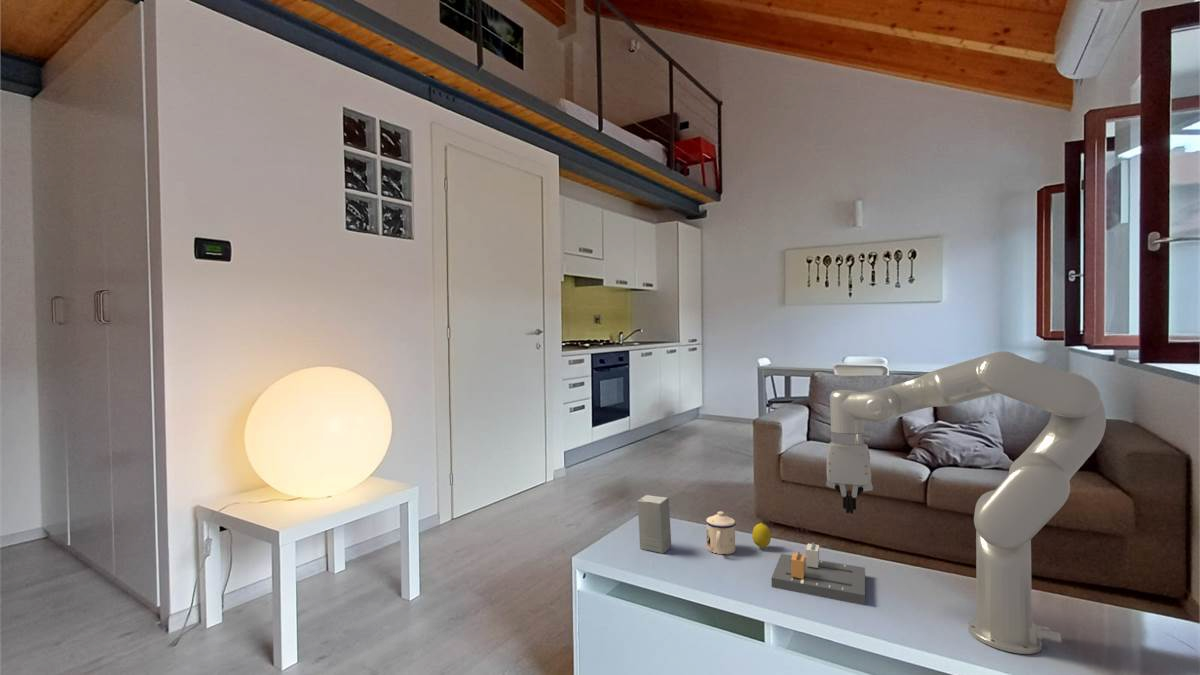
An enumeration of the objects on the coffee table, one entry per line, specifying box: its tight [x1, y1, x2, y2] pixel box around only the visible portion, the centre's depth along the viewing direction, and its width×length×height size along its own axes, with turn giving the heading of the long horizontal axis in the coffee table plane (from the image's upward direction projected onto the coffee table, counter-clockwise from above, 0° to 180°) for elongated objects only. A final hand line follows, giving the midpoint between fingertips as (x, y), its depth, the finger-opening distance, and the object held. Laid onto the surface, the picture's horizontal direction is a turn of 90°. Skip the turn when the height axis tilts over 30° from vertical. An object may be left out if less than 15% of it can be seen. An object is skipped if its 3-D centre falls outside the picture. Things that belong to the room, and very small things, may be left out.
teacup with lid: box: [705, 510, 737, 555], centre depth 164 cm, size 12×9×12 cm
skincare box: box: [637, 494, 672, 554], centre depth 166 cm, size 8×7×16 cm
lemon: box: [752, 522, 772, 549], centre depth 166 cm, size 6×6×8 cm
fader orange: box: [791, 551, 806, 579], centre depth 141 cm, size 3×5×5 cm, turn 153°
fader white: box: [805, 542, 820, 568], centre depth 148 cm, size 3×5×5 cm, turn 153°
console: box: [770, 553, 866, 606], centre depth 143 cm, size 22×18×2 cm
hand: (849, 511), depth 134 cm, fingers closed
